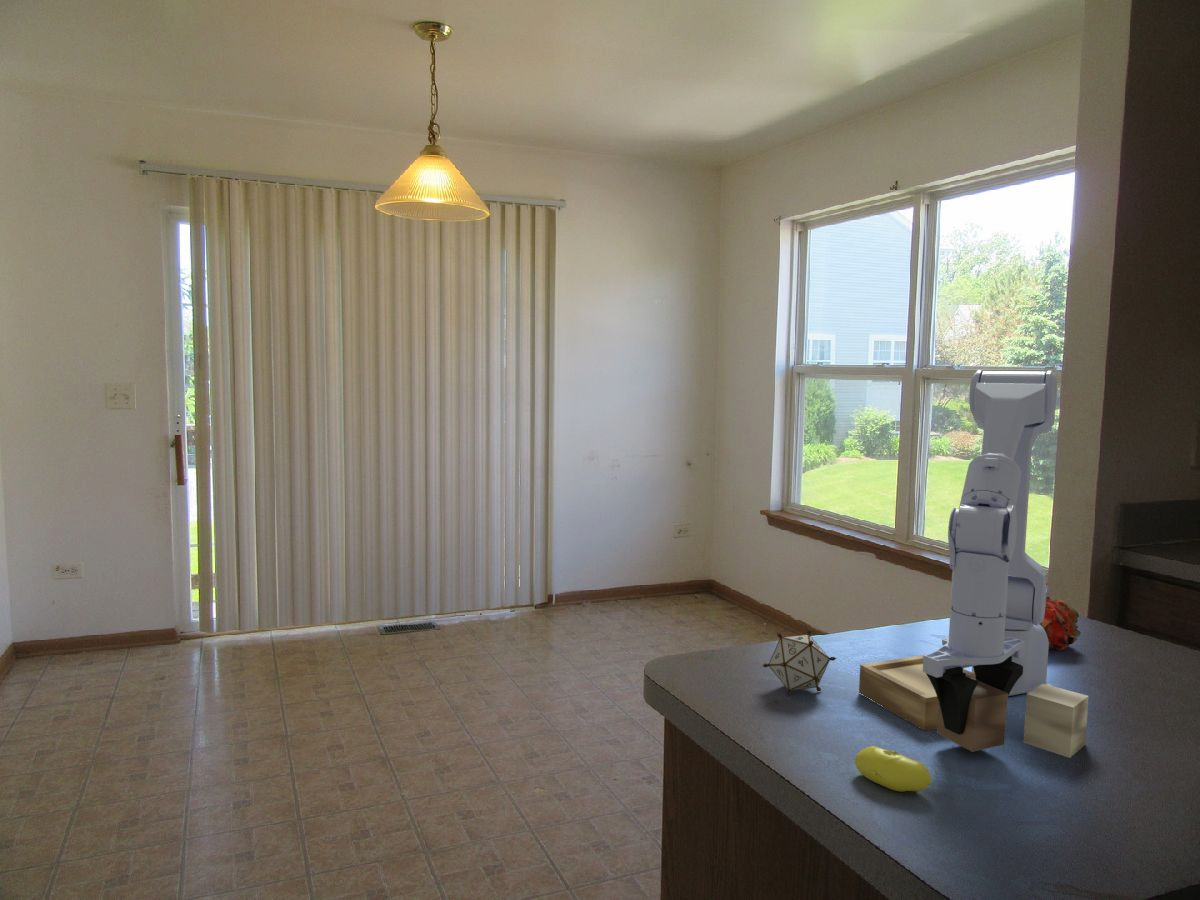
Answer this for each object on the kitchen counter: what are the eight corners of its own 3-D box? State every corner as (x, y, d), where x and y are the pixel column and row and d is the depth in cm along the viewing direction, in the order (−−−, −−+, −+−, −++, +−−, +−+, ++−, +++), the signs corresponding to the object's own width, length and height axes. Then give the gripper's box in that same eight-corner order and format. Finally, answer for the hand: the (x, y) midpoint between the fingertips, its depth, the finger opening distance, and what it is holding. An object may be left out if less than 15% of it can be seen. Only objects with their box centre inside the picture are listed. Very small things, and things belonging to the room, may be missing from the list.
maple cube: (1039, 730, 99) (1042, 683, 98) (1085, 745, 95) (1088, 696, 94) (1023, 742, 95) (1026, 693, 95) (1069, 758, 92) (1073, 707, 91)
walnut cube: (968, 726, 96) (971, 677, 96) (1004, 744, 92) (1008, 693, 91) (937, 733, 94) (940, 683, 94) (972, 751, 90) (975, 699, 89)
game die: (809, 721, 109) (838, 680, 103) (750, 694, 111) (775, 652, 104) (819, 670, 116) (847, 629, 110) (764, 645, 117) (788, 603, 111)
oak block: (928, 682, 114) (929, 654, 113) (998, 716, 103) (1000, 685, 102) (858, 693, 109) (860, 664, 109) (924, 730, 98) (926, 698, 98)
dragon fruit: (1061, 647, 134) (1041, 677, 125) (1017, 610, 137) (994, 637, 129) (1098, 615, 129) (1079, 643, 120) (1051, 577, 133) (1029, 603, 124)
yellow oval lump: (865, 766, 89) (867, 732, 89) (937, 793, 84) (939, 757, 83) (846, 779, 87) (847, 744, 86) (919, 808, 81) (921, 771, 80)
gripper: (990, 594, 98) (984, 701, 100) (903, 609, 92) (898, 723, 93) (1044, 609, 92) (1037, 724, 93) (955, 627, 86) (949, 749, 87)
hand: (971, 725), depth 93 cm, fingers closed on walnut cube, 5 cm apart
